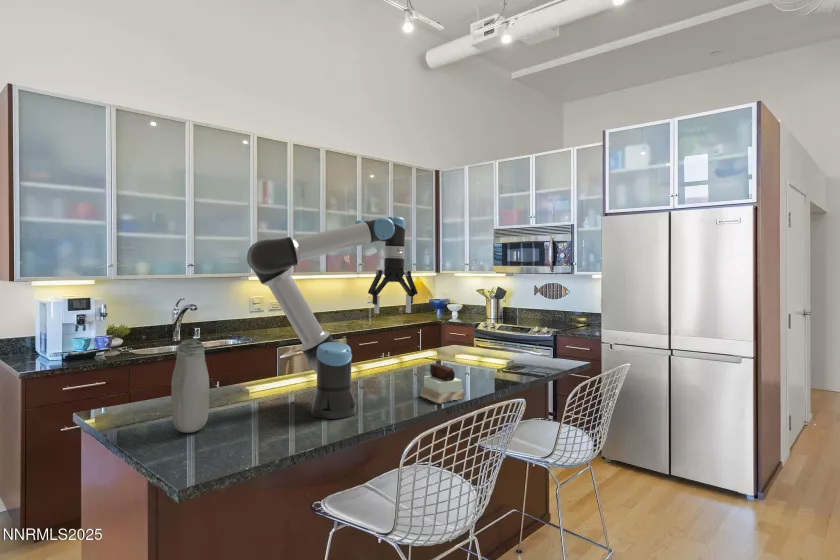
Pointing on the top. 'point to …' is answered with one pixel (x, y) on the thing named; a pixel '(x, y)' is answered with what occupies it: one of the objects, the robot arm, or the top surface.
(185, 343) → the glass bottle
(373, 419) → the top surface
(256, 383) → the top surface
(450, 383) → the top block
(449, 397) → the base block
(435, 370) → the brick
